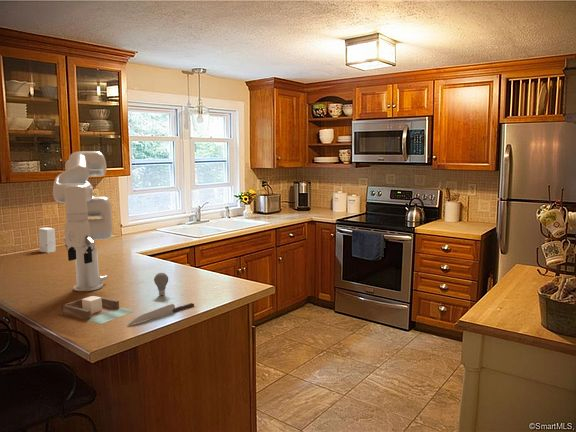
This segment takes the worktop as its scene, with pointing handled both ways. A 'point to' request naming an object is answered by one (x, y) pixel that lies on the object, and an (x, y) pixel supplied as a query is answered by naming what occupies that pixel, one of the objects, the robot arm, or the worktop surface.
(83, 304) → the cream block
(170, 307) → the kitchen knife
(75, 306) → the walnut cubby
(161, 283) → the light bulb
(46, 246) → the skincare box
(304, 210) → the worktop surface
